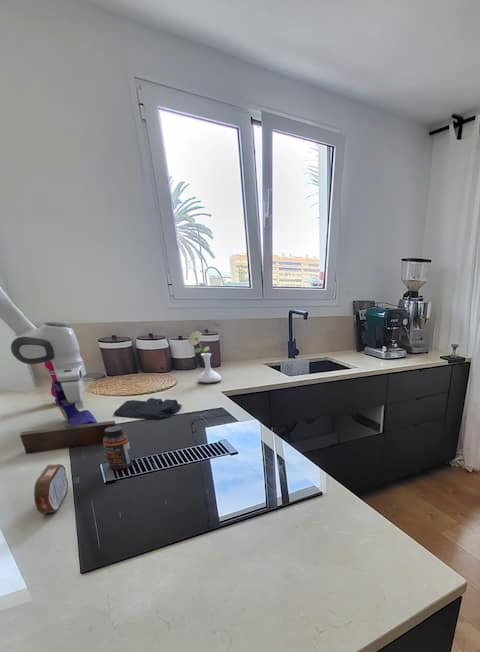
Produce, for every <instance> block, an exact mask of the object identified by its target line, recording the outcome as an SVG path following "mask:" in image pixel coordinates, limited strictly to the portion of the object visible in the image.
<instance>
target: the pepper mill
mask: <svg viewBox="0 0 480 652" xmlns="http://www.w3.org/2000/svg"><path fill="white" fill-rule="evenodd" d="M43 364H44V367H45V368H46V369H48V370H47V372H48V374H49V375H50V377H51V387H50V394H51V396H52V397H54V398H55V389H54V387H52V386H53V385H52V383H54V382H55V381H57V377H56V374H55V370H54V367H53V364H52V362H51V361H47V362H43ZM54 402H55V403H56V398H55V399H54Z"/></svg>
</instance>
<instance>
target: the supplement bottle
mask: <svg viewBox="0 0 480 652" xmlns="http://www.w3.org/2000/svg"><path fill="white" fill-rule="evenodd" d="M105 434H106V436H105V437H104V438H103V443H102V444H103V447H104V452H105V455H106V459H107V463H108V466H109V468H110V469H112V470H116V469H117V470H124V469H127V468H129V467H131V466H132V465H133V464H134V460H133V456H132V452H131V447H130V443H129V438H128V435H127V433H124V432H123V429H122V427H121V426H119V425H118V426H117V425H116V426H114V427H109V428H106V429H105Z"/></svg>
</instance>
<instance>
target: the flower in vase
mask: <svg viewBox="0 0 480 652" xmlns="http://www.w3.org/2000/svg"><path fill="white" fill-rule="evenodd" d="M202 339H203V333H202V332H200V331H199V330H196V331H193V332H192V333H191V335H189V338H188V341H187V342H188V344H189V345H191V346H196V345H199V347H197V348H195V349H194V350H193V353H200V352H201V351H202V352H203V353H200V356H201V357H202V359H203V361H204V366H205V368H204V370H203V371H202V372H201V373H200V374H199V375H198V376H197V381H198V382H200V383H205V384H206V383H207V384H211V383H217V382H219V381H221V380H222V376H221V375H220V374H219V373H217V372H216V371H215V370H213V369H212V367H211V356H212V353H210V352H208V351H210V345H208V346H206V347H204V348H202V345H201V344H200V342H201V341H202Z"/></svg>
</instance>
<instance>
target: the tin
mask: <svg viewBox="0 0 480 652" xmlns="http://www.w3.org/2000/svg"><path fill="white" fill-rule="evenodd" d="M33 489H34V490H33V497H34V504H35V507H36V511H38V513H39V514H40V515H41V514H42V515H43V514H48V513H49V514H51V513H55V512H57V511H58V510H59V509H60V507H61V505H62V503H63V501H64V500H65V497H66V496H67V494H68V489H69V481H68V478H67V473H66V468H65V466H64V465H63V464H60V463H59V464H47V465H46V466H45V468H44V469H43V471H42V473H40V475H39V476H38V477H37V479H36V481H35V483H34V488H33Z"/></svg>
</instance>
